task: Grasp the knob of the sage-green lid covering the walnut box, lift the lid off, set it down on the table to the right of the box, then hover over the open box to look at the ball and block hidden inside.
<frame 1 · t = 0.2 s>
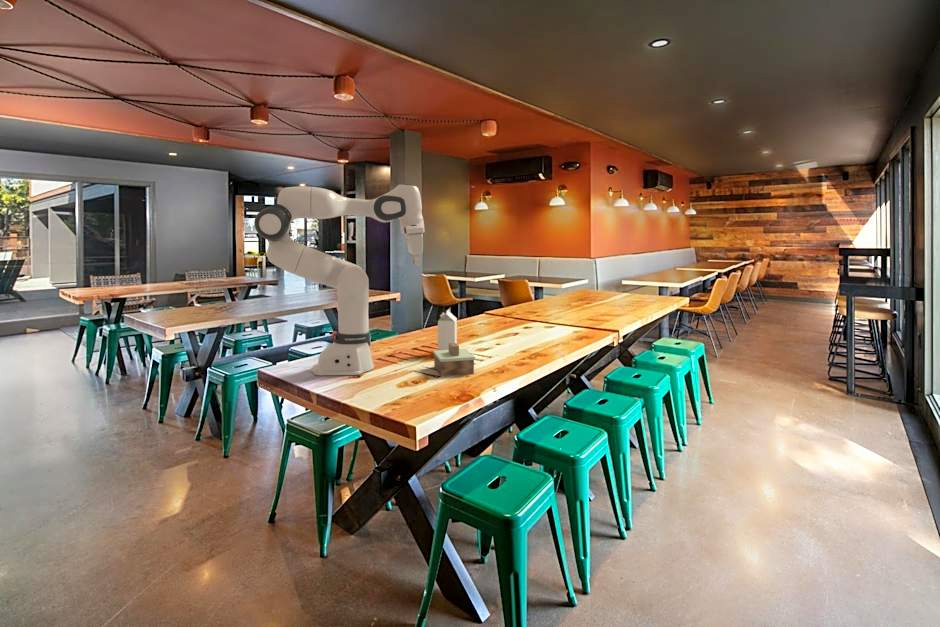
hand: (416, 265, 185), 39 cm above the table, tool pointing down, fingers open, 8 cm apart
walnut box: (453, 372, 182), on the table
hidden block: (449, 372, 179), point 1 cm above the table, touching walnut box
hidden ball: (457, 367, 185), point 1 cm above the table, touching walnut box
lid: (453, 356, 181), point 6 cm above the table, touching walnut box
milk carton: (447, 354, 208), on the table
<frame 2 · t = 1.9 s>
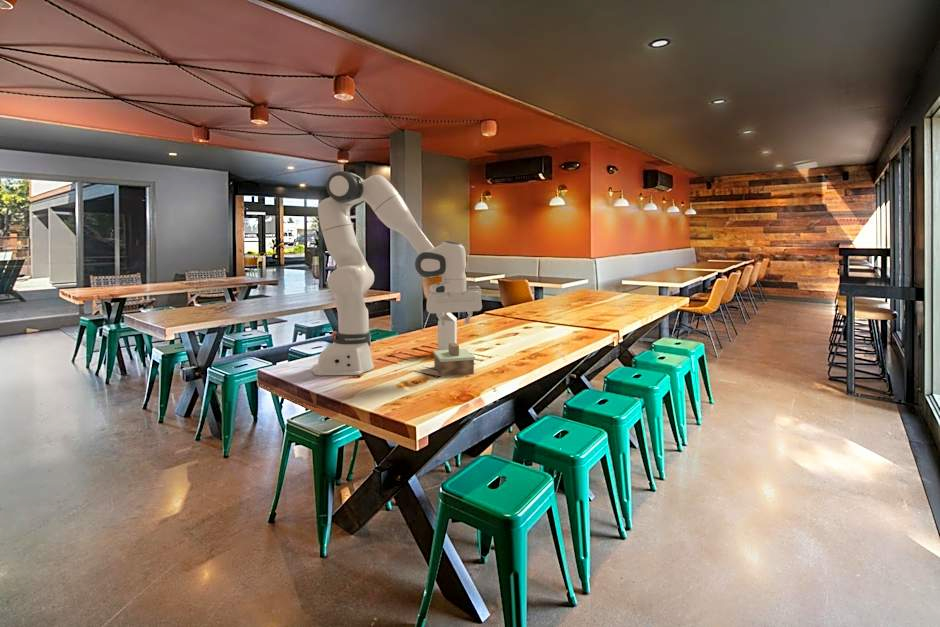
hand: (454, 324, 179), 18 cm above the table, tool pointing down, fingers open, 8 cm apart
nothing on the table moved.
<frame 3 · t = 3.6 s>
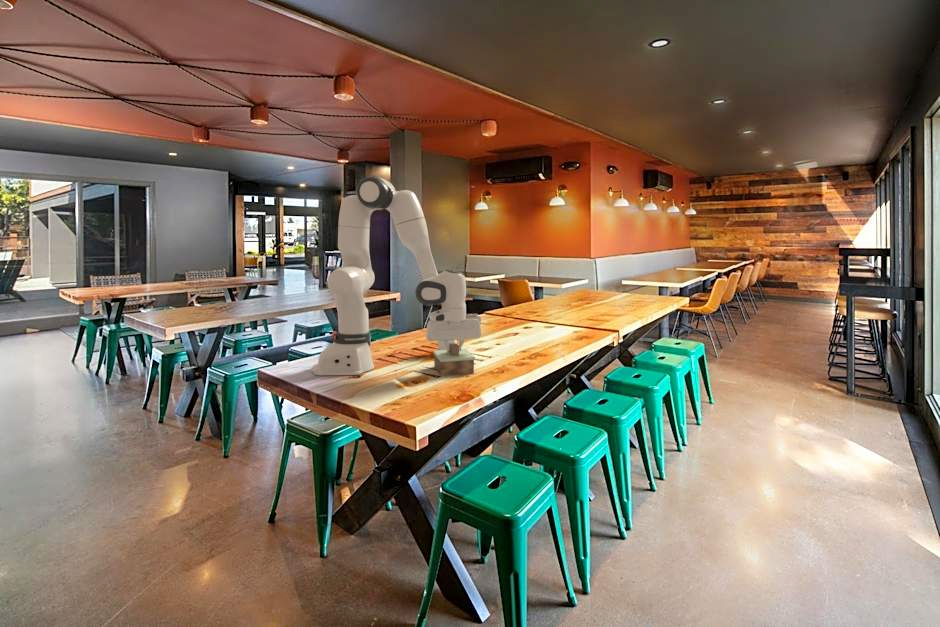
hand: (453, 351, 181), 8 cm above the table, tool pointing down, fingers closed on lid, 2 cm apart
lid: (453, 356, 181), point 6 cm above the table, touching gripper, walnut box
everything else where it was.
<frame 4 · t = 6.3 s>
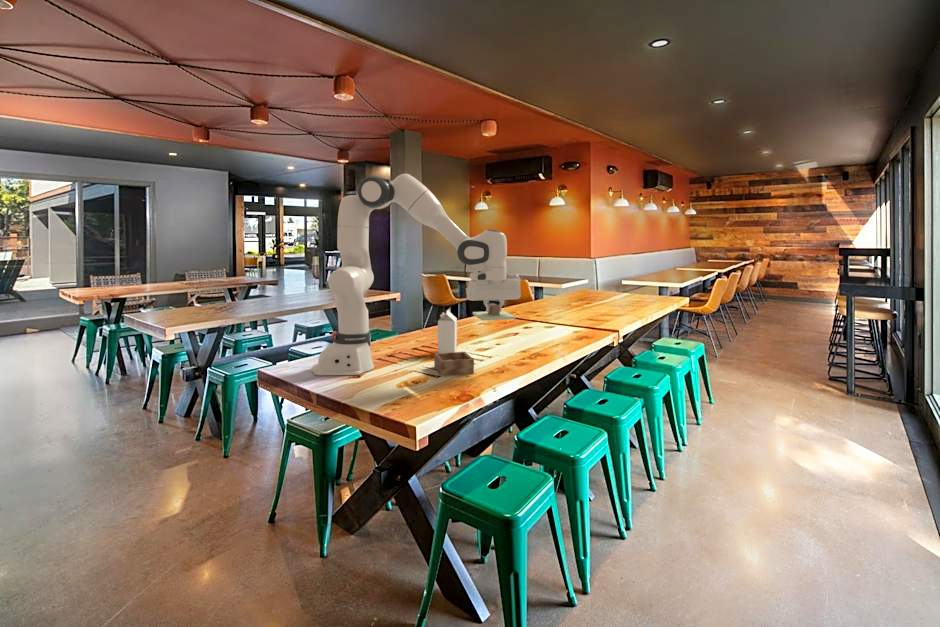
hand: (493, 311, 182), 22 cm above the table, tool pointing down, fingers closed on lid, 2 cm apart
lid: (493, 316, 182), point 20 cm above the table, touching gripper
everything else where it was.
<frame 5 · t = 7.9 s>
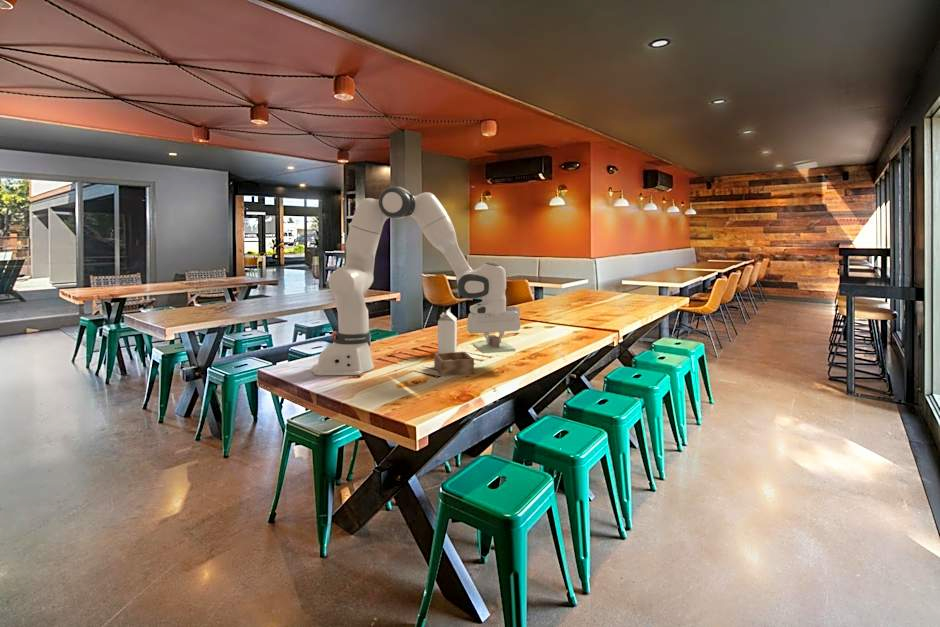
hand: (493, 343, 184), 10 cm above the table, tool pointing down, fingers closed on lid, 2 cm apart
lid: (493, 348, 184), point 8 cm above the table, touching gripper
everything else where it was.
when the fingers open (4 cm above the table, at t = 9.2 s): lid drops 3 cm, on the table.
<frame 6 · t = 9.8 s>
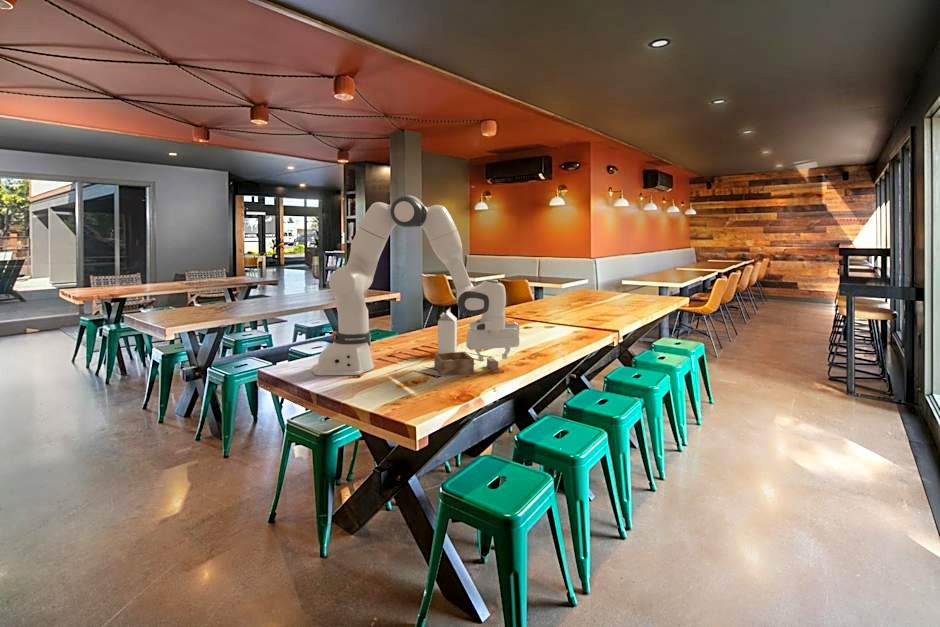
hand: (492, 359, 185), 4 cm above the table, tool pointing down, fingers open, 8 cm apart
lid: (492, 371, 185), on the table
everything else where it was.
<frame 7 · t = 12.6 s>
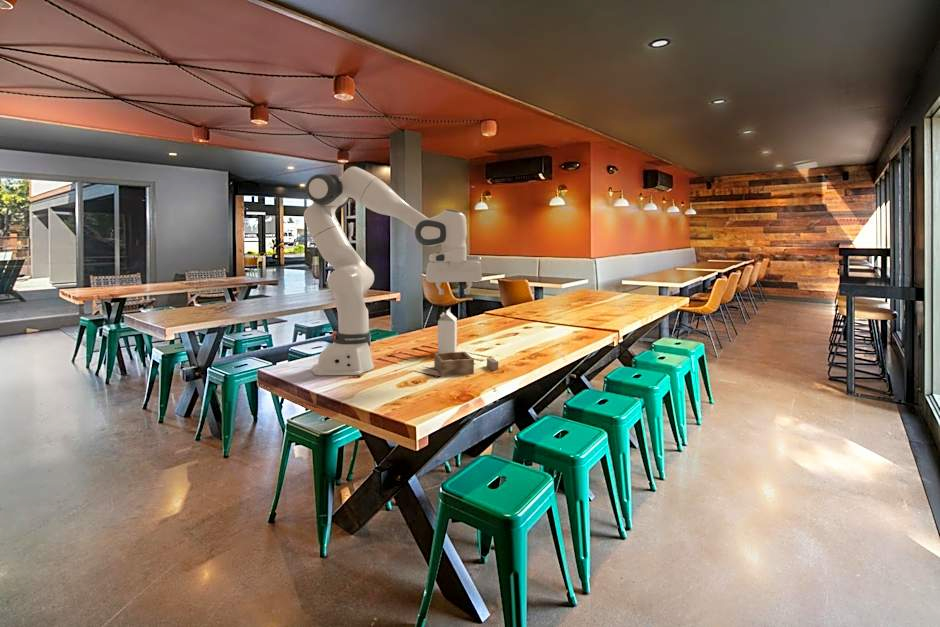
hand: (454, 294, 177), 29 cm above the table, tool pointing down, fingers open, 8 cm apart
nothing on the table moved.
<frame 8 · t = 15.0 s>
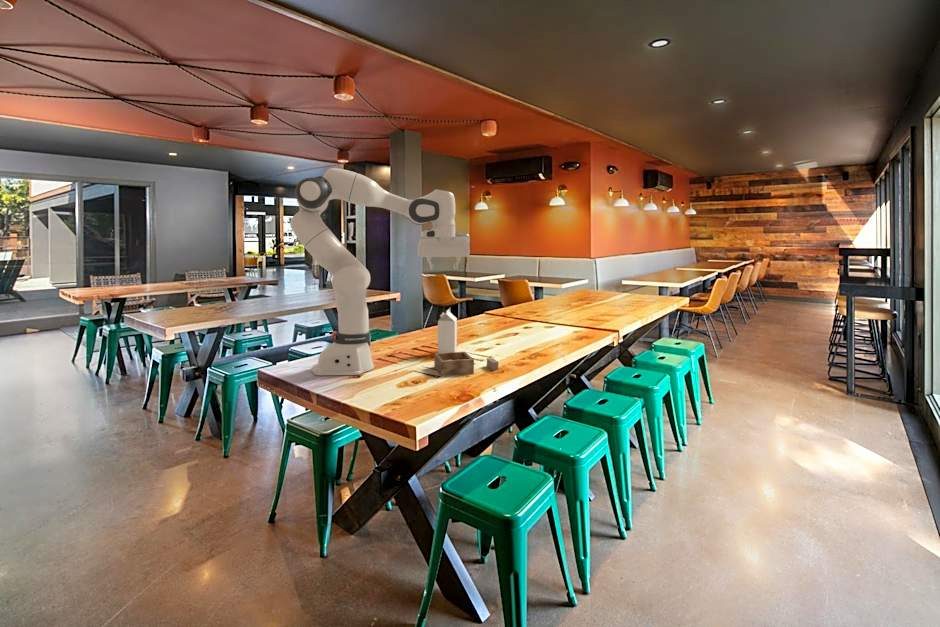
hand: (443, 268, 191), 37 cm above the table, tool pointing down, fingers open, 8 cm apart
nothing on the table moved.
at the end: lid inside the target area (0.1 cm from its centre), on the table; lid touching table; lid tilted 0° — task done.
